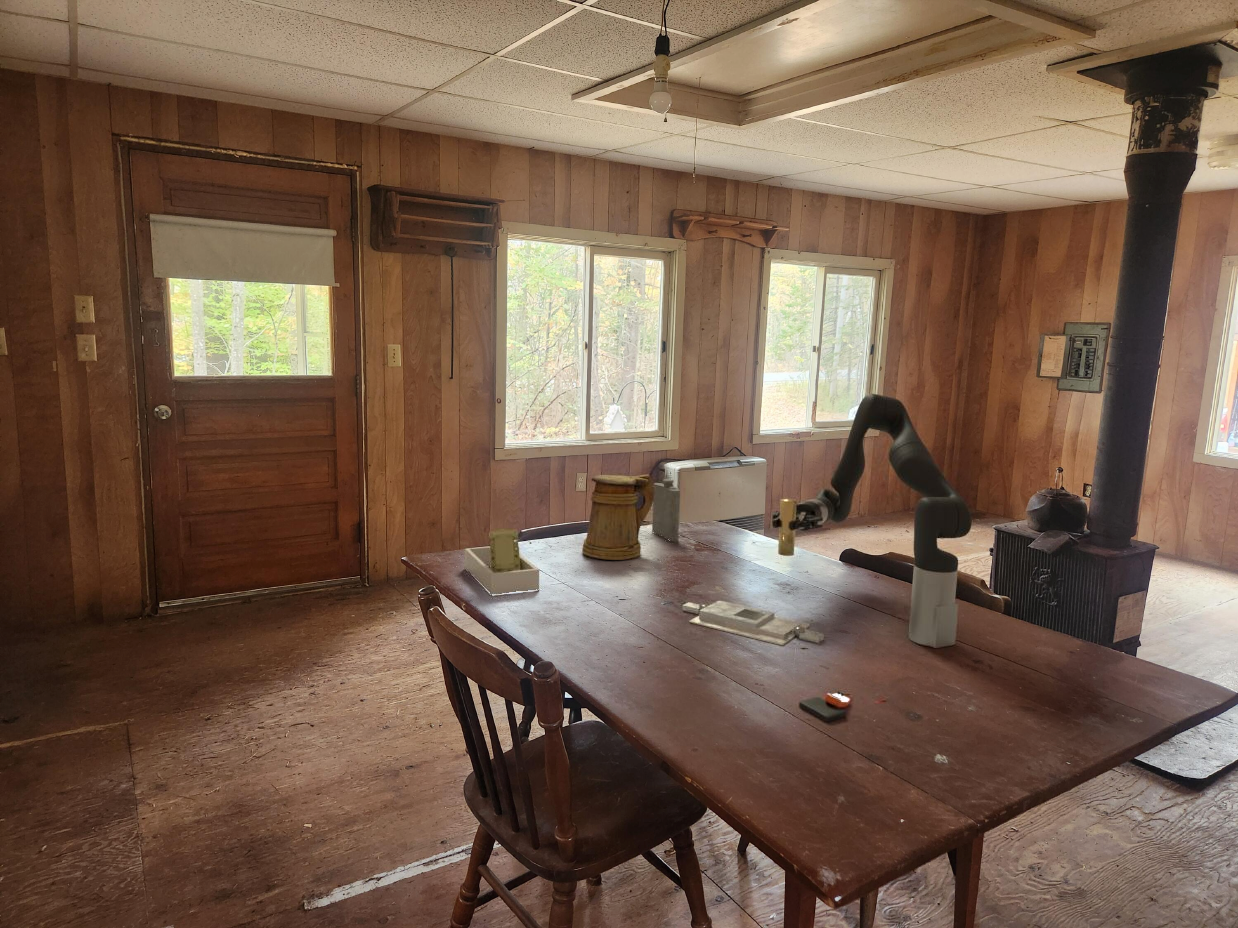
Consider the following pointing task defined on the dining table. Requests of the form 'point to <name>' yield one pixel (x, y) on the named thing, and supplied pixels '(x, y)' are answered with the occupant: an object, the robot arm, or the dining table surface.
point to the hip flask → (666, 510)
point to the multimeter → (827, 706)
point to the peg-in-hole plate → (750, 622)
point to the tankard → (617, 516)
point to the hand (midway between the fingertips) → (783, 525)
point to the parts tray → (500, 573)
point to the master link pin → (786, 527)
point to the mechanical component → (504, 550)
